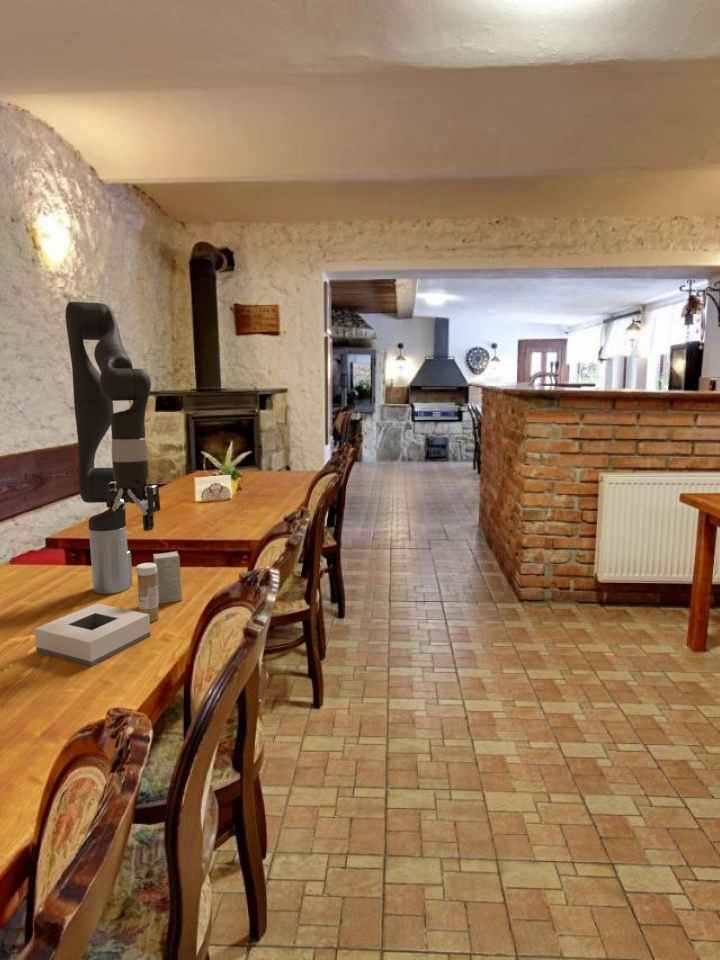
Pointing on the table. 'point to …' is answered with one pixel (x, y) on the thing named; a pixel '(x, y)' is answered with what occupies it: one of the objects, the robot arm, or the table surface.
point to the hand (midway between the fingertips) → (134, 528)
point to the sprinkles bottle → (148, 590)
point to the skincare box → (168, 577)
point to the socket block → (92, 633)
